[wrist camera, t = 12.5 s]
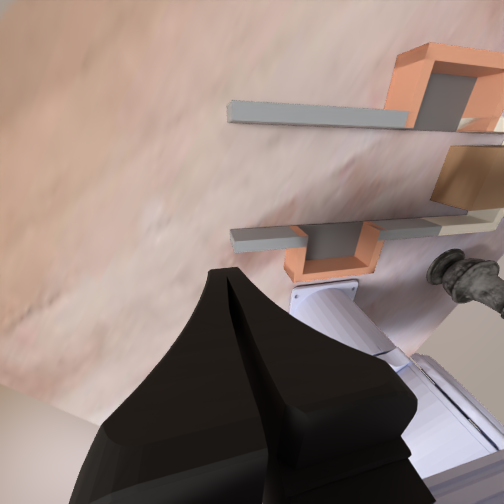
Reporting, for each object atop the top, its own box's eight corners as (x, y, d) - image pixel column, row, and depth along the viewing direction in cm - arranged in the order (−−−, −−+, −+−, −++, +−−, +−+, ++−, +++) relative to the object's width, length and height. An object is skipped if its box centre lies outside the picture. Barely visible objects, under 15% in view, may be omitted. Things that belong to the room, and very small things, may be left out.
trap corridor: (454, 250, 27) (477, 260, 25) (231, 274, 21) (235, 289, 19) (545, 73, 19) (590, 65, 17) (224, 33, 13) (230, 13, 11)
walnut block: (473, 196, 24) (520, 206, 20) (428, 199, 23) (470, 211, 19) (497, 145, 21) (555, 146, 18) (448, 146, 20) (500, 147, 17)
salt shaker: (471, 240, 27) (645, 306, 16) (458, 278, 30) (599, 354, 19) (429, 254, 26) (582, 331, 16) (420, 291, 29) (544, 376, 19)
